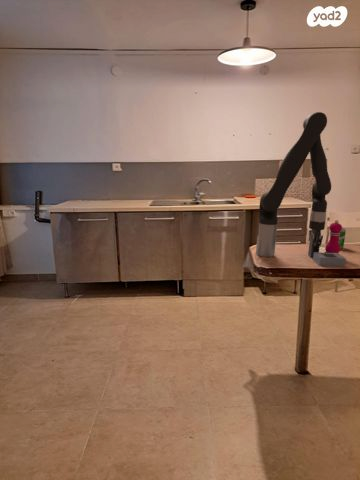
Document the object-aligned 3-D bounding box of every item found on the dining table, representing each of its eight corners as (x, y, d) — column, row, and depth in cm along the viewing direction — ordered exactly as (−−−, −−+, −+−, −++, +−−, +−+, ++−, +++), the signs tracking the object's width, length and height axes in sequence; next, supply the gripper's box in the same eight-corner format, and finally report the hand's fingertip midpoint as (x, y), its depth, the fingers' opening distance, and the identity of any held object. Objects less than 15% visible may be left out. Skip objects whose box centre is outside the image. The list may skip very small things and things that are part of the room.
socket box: (319, 265, 152) (320, 257, 151) (312, 259, 161) (314, 251, 160) (344, 266, 151) (345, 257, 150) (336, 260, 160) (338, 252, 159)
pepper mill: (340, 259, 162) (346, 221, 157) (325, 258, 163) (331, 220, 158) (336, 255, 169) (342, 219, 164) (322, 254, 170) (327, 218, 165)
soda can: (327, 245, 188) (329, 226, 185) (339, 246, 188) (342, 226, 185) (332, 249, 181) (335, 229, 178) (345, 249, 181) (348, 229, 178)
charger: (310, 257, 165) (313, 235, 162) (307, 255, 169) (310, 233, 166) (318, 257, 165) (321, 235, 162) (315, 255, 168) (318, 233, 165)
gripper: (305, 217, 169) (302, 247, 173) (314, 222, 155) (310, 255, 159) (320, 217, 168) (316, 248, 173) (330, 222, 154) (326, 255, 159)
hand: (313, 251), depth 166 cm, fingers open, 4 cm apart
